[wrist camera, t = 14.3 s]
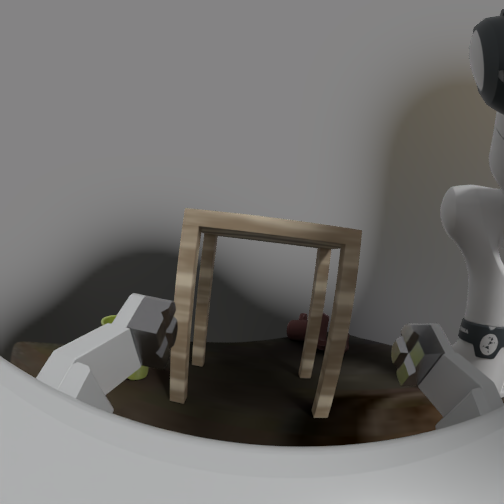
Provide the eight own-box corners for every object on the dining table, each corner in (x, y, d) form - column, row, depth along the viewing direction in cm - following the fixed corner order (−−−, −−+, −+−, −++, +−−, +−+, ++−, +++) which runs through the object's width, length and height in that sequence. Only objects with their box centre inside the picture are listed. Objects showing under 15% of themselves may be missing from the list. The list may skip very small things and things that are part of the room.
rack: (327, 417, 32) (361, 230, 32) (169, 400, 32) (185, 208, 32) (308, 374, 48) (329, 238, 48) (194, 360, 48) (208, 223, 48)
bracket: (341, 349, 56) (348, 308, 60) (282, 345, 67) (290, 309, 72) (351, 354, 59) (357, 315, 64) (295, 349, 71) (302, 315, 75)
